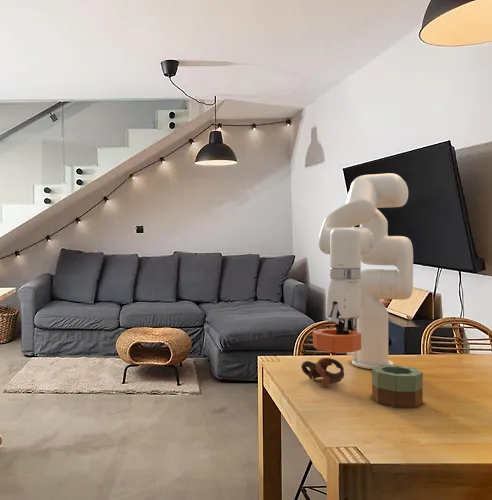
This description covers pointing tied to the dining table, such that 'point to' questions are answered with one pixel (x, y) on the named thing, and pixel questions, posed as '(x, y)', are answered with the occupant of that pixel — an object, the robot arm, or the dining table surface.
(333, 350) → the ring top
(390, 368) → the ring middle
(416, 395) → the ring bottom
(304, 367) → the brown knot
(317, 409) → the dining table surface
